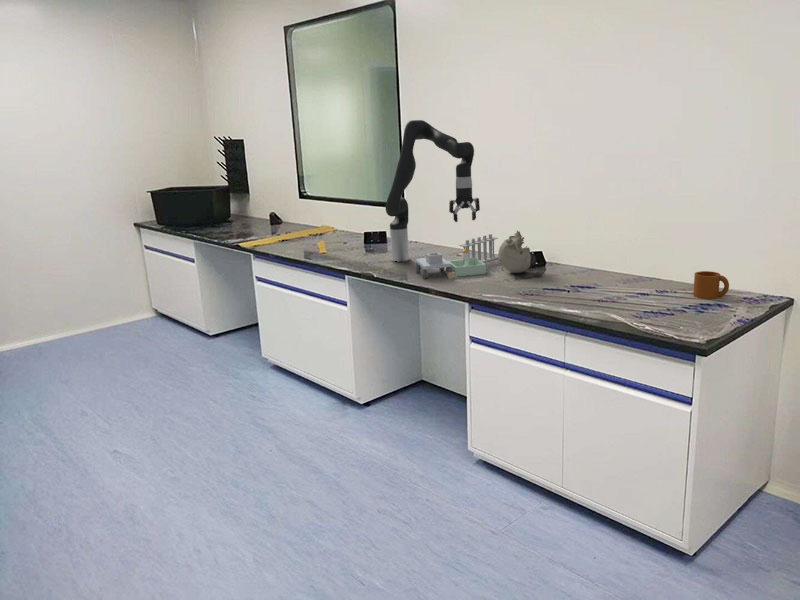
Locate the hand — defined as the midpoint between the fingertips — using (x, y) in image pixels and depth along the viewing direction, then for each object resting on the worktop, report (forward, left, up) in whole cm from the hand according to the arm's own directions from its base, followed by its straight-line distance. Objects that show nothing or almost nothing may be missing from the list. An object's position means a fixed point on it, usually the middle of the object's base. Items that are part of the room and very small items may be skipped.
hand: (464, 221), depth 295 cm
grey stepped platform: (-1, -16, -25) cm, 29 cm away
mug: (+79, +73, -25) cm, 110 cm away
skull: (+12, +20, -25) cm, 34 cm away
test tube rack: (-16, +12, -25) cm, 32 cm away
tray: (0, 0, -25) cm, 25 cm away
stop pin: (0, 0, -24) cm, 24 cm away
